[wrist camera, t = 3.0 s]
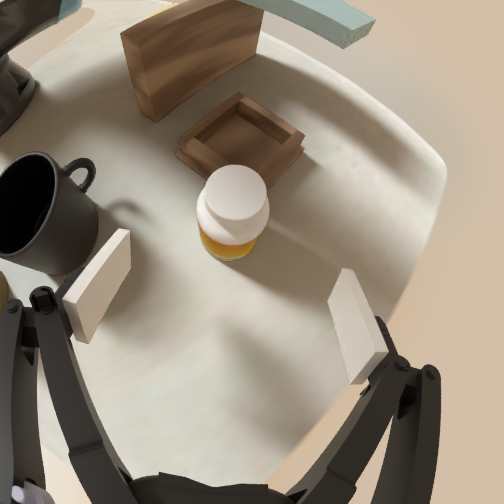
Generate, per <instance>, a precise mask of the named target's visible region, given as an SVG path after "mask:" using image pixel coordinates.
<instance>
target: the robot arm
mask: <svg viewBox="0 0 504 504" xmlns="http://www.w3.org/2000/svg"><path fill="white" fill-rule="evenodd" d="M81 5H82V0H0V136H1V135H2V134H3V133H4V132H5V131H6V130H7V129H8V128H9V127H10V126H11V125H12V124H13V123H14V122H15V120H16V119H17V118H18V117H19V116H20V114H21V113H22V112H23V110H24V109H25V108H26V106H27V105H28V103H29V101H30V100H31V98H32V96H33V93H34V91H35V86H36V83H35V80H34V79H33V77H32V75H31V74H30V73H29V72H28V71H27V70H25V69H24V68H22V67H21V66H19V65H18V64H17V63H15V62H13V61H12V60H11V59H10V57H9V56H8V54H7V53H8V52H9V51H10V50H12V49H13V48H15V47H16V46H18V45H20V44H21V43H23V42H24V41H26V40H28V39H29V38H31V37H32V36H34V35H36V34H38V33H39V32H41V31H43V30H45V29H47V28H48V27H50V26H52V25H54V24H57V23H59V22H60V21H61V20H63V19H64V18H66V17H68V16H70V15H72V14H74V13H75V12H77V11H78V9H79V8H80V7H81ZM130 269H131V252H130V230H125V229H120V228H119V229H118V230H117V231H116V232H115V233H114V234H113V235H112V237H111V238H110V239H109V240H108V241H107V242H106V243H105V245H104V246H103V247H102V248H101V249H100V251H99V252H98V253H97V254H96V255H95V257H94V258H93V259H92V260H91V262H90V263H89V264H88V265H87V267H86V268H84V267H80V266H79V267H78V268H76V269H75V270H73V271H72V272H71V273H70V274H69V276H68V277H67V278H66V279H65V281H64V282H63V283H62V284H61V286H60V287H59V288H58V290H57V291H56V292H55V294H54V292H53V289H52V288H50V287H48V286H40V287H38V288H36V289H34V290H33V291H32V292H31V294H30V297H29V299H30V302H31V305H32V307H24V306H23V304H22V302H21V301H20V300H19V299H11V300H9V301H7V302H6V303H5V304H4V306H3V308H2V311H1V315H0V504H55V502H54V500H53V498H52V497H51V495H50V494H49V493H48V492H47V491H46V484H45V474H44V467H43V461H42V455H41V447H40V438H39V428H38V413H37V363H38V348H40V353H41V358H42V363H43V368H44V372H45V376H46V380H47V384H48V388H49V392H50V395H51V399H52V402H53V406H54V409H55V412H56V415H57V418H58V421H59V424H60V427H61V429H62V432H63V435H64V437H65V440H66V442H67V445H68V448H69V453H68V455H69V459H70V461H71V464H72V466H73V468H74V470H75V472H76V474H77V476H78V479H79V481H80V483H81V484H82V486H83V488H84V490H85V492H86V494H87V496H88V497H89V499H90V501H91V502H92V504H348V503H349V501H350V500H351V498H352V497H353V495H354V493H355V492H356V489H357V488H356V486H355V483H356V482H357V480H358V478H359V477H360V475H361V474H362V472H363V470H364V469H365V467H366V465H367V464H368V462H369V460H370V458H371V457H372V455H373V453H374V451H375V450H376V448H377V446H378V444H379V442H380V440H381V438H382V436H383V434H384V432H385V430H386V428H387V426H388V424H389V422H390V420H391V418H392V416H393V419H392V425H391V430H390V435H389V440H388V444H387V449H386V453H385V457H384V461H383V465H382V469H381V472H380V476H379V479H378V482H377V486H376V489H375V492H374V495H373V498H372V501H371V504H430V499H431V494H432V489H433V484H434V478H435V472H436V465H437V457H438V447H439V436H440V420H441V377H440V373H439V371H438V370H437V369H436V367H434V366H432V365H429V364H427V365H425V366H424V367H423V368H422V369H421V370H420V369H417V368H413V367H411V366H410V363H409V362H408V361H407V360H406V359H405V358H404V357H402V356H400V355H398V353H397V351H396V348H395V346H394V343H393V341H392V338H391V337H390V334H389V332H388V329H387V327H386V325H385V323H384V322H383V320H382V319H381V318H380V317H379V316H374V315H373V312H372V310H371V308H370V305H369V303H368V301H367V299H366V296H365V294H364V292H363V290H362V288H361V285H360V283H359V281H358V279H357V277H356V275H355V273H354V271H353V270H351V269H346V268H342V270H341V272H340V275H339V277H338V279H337V281H336V284H335V286H334V288H333V290H332V292H331V295H330V297H329V299H328V305H329V308H330V312H331V315H332V319H333V322H334V326H335V329H336V333H337V337H338V340H339V344H340V348H341V352H342V356H343V360H344V364H345V368H346V372H347V376H348V380H349V384H363V382H364V381H365V380H366V379H367V378H368V381H369V385H368V386H367V387H366V388H365V389H364V390H363V391H362V392H361V393H360V395H361V397H360V399H359V400H358V402H357V403H356V405H355V407H354V409H353V410H352V411H351V413H350V415H349V416H348V418H347V419H346V421H345V422H344V424H343V425H342V427H341V428H340V430H339V431H338V432H337V434H336V435H335V437H334V438H333V440H332V441H331V442H330V444H329V445H328V446H327V448H326V449H325V450H324V452H323V453H322V454H321V456H320V457H319V458H318V460H317V461H316V462H315V463H314V465H313V466H312V467H311V468H310V470H309V471H308V472H307V473H306V474H305V476H304V477H303V478H302V479H301V480H300V481H299V482H298V483H297V484H296V485H294V486H293V487H292V488H291V489H290V490H289V491H288V492H287V493H286V494H285V495H284V494H282V493H279V492H277V491H275V490H272V489H269V488H268V484H236V485H229V486H221V487H211V486H208V485H205V484H202V483H199V482H197V481H194V480H192V479H189V478H187V477H182V476H177V475H172V474H167V473H162V472H159V475H152V476H145V477H141V478H138V479H135V480H133V478H132V477H131V475H130V473H129V472H128V470H127V469H126V467H125V466H124V464H123V463H122V461H121V460H120V458H119V456H118V455H117V453H116V451H115V449H114V447H113V445H112V443H111V441H110V440H109V438H108V436H107V434H106V431H105V429H104V427H103V425H102V423H101V421H100V419H99V417H98V414H97V412H96V410H95V407H94V405H93V403H92V400H91V398H90V395H89V393H88V390H87V388H86V385H85V382H84V379H83V377H82V374H81V371H80V368H79V365H78V362H77V359H76V356H75V353H74V349H73V346H72V342H71V340H70V337H71V335H72V334H73V333H74V336H75V339H76V340H77V341H80V342H83V343H86V344H89V342H90V340H91V338H92V336H93V334H94V332H95V331H96V329H97V327H98V325H99V323H100V321H101V319H102V317H103V316H104V314H105V312H106V310H107V308H108V307H109V305H110V303H111V301H112V299H113V298H114V296H115V294H116V293H117V291H118V289H119V287H120V286H121V284H122V282H123V281H124V279H125V277H126V276H127V274H128V272H129V271H130Z"/></svg>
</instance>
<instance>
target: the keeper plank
mask: <svg viewBox="0 0 504 504" xmlns="http://www.w3.org/2000/svg"><path fill="white" fill-rule="evenodd" d="M237 1H240V2H243V3H246V4H249V5H252V6H255V7H257V8H260V9H263V10H265V11H268V12H270V13H273V14H275V15H278V16H280V17H282V18H284V19H287V20H289V21H291V22H293V23H295V24H297V25H300V26H302V27H304V28H306V29H308V30H310V31H312V32H314V33H315V34H317V35H320V36H321V37H323V38H325V39H327V40H328V41H330V42H332V43H334V44H335V45H337V46H339V47H340V48H342V49H344V48H346V47H348V46H349V45H351V44H353V43H354V42H356V41H358V40H359V39H361V38H363V37H365V36H366V35H368V33H369V32H370V30H371V28H372V26H373V24H374V22H375V21H376V19H374V18H373V17H371V16H369V15H367V14H366V13H364V12H362V11H360V10H358V9H357V8H355V7H353V6H351V5H349V4H347V3H345V2H343V1H341V0H237Z"/></svg>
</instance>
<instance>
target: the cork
mask: <svg viewBox="0 0 504 504" xmlns="http://www.w3.org/2000/svg"><path fill="white" fill-rule="evenodd" d="M7 301H8V287H7V282H6V279H5V276H4V275H3V273H2V272H1V271H0V315H1V311H2V308H3V306H4V304H5V303H6V302H7Z"/></svg>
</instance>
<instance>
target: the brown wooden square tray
mask: <svg viewBox="0 0 504 504" xmlns="http://www.w3.org/2000/svg"><path fill="white" fill-rule="evenodd" d="M304 137H305V135H304V134H302V133H301V132H300V131H298V130H297V129H295V128H294V127H292V126H291V125H290V124H288V123H287V122H285V121H284V120H282V119H281V118H279V117H278V116H276V115H275V114H273V113H272V112H270V111H269V110H267V109H265V108H264V107H262V106H261V105H259V104H257V103H256V102H254V101H253V100H251V99H249V98H248V97H246V96H244V95H243V94H241V93H239V92H238V93H236V94H235V95H234V96H232V97H231V98H229V99H228V100H227V101H225V102H224V103H223V104H221V105H220V106H219V107H217V108H216V109H215V110H214V111H212V112H211V113H210V114H208V115H207V116H206V117H205V118H203V119H202V120H201V121H200V122H198V123H197V124H196V125H195V126H194V127H192V128H191V129H190V130H189V131H188V132H186V133H185V134H184V135H183V136H182V137H181V138H179V140H180V146H181V148H180V149H179V150H178V151H176V152H175V156H176V157H177V158H178V159H179V160H181V161H182V162H183V163H185V164H186V165H187V166H189V167H190V168H191V169H193V170H194V171H195V172H197V173H198V174H199V175H201V176H202V177H203V178H205V179H206V180H208V179H209V177H210V176H211V175H212V174H213V173H214V172H215V171H216V170H218V169H220V168H222V167H224V166H228V165H242V166H246V167H248V168H250V169H252V170H254V171H255V172H256V173H258V174H259V175H260V177H261V178H262V179H263V181H264V183H265V186H266V190H268V189H269V188H270V187H271V186H272V185H273V184H274V183H275V182H276V181H277V179H278V178H279V177H280V176H281V175H282V174H283V173H284V172H285V171H286V170H287V168H288V167H289V166H290V165H291V164H292V163H293V162H294V161H295V160H296V159H297V158H298V156H299V155H300V154H301V153H302V152H303V150H304V149H305V148H303V147H302V146H301V143H302V141H303V139H304Z"/></svg>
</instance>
